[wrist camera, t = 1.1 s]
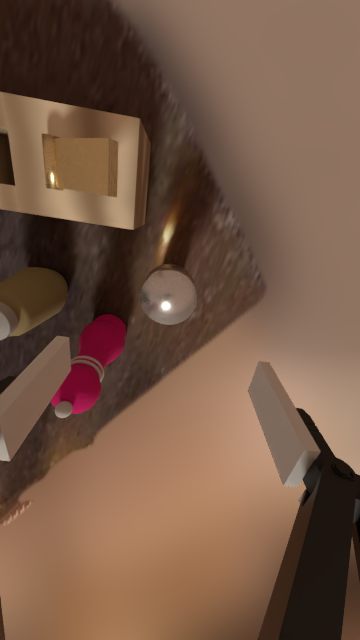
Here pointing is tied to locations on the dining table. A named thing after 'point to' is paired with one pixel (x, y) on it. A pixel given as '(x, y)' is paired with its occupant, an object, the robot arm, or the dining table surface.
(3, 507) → the dining table surface
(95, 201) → the maple block
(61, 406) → the pepper mill
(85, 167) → the brass latch
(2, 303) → the squeeze bottle
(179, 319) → the silver capsule
